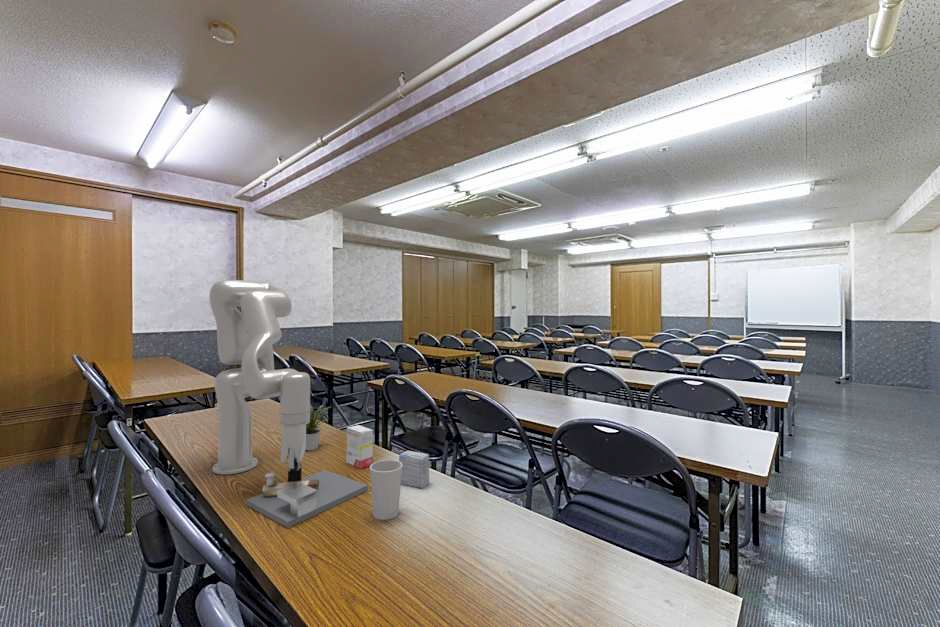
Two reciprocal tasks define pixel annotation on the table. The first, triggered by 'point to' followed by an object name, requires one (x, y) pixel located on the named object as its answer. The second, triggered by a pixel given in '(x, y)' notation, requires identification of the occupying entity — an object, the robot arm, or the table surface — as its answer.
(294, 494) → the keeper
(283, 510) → the board
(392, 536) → the table surface
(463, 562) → the table surface
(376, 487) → the cup
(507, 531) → the table surface
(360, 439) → the ink box
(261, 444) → the table surface
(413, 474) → the medicine box
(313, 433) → the house plant
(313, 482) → the link
